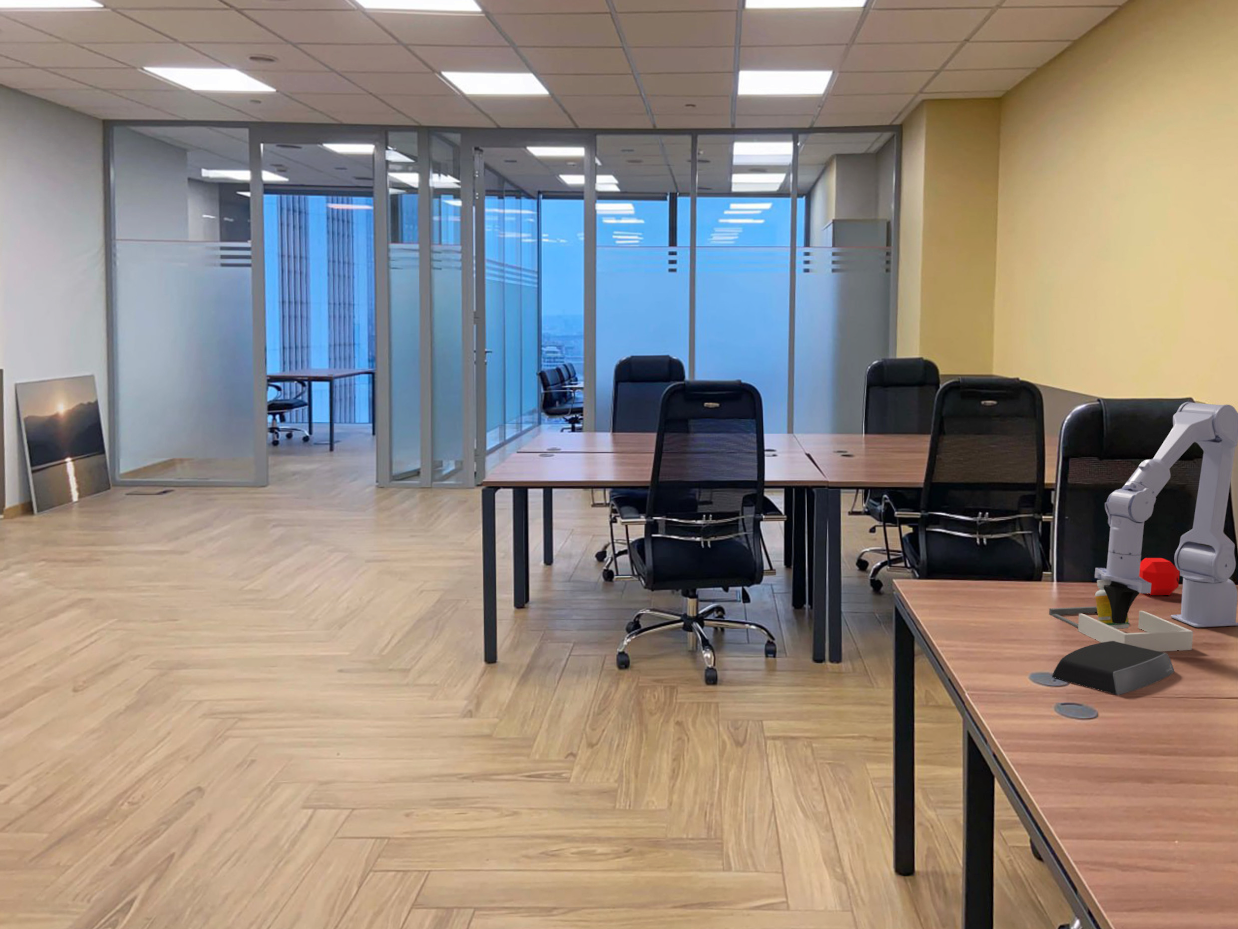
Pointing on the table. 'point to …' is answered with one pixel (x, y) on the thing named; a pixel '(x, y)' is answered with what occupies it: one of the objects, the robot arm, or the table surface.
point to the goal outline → (1074, 610)
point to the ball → (1159, 575)
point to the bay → (1155, 638)
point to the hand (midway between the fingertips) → (1118, 622)
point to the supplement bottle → (1106, 606)
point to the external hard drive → (1114, 667)
